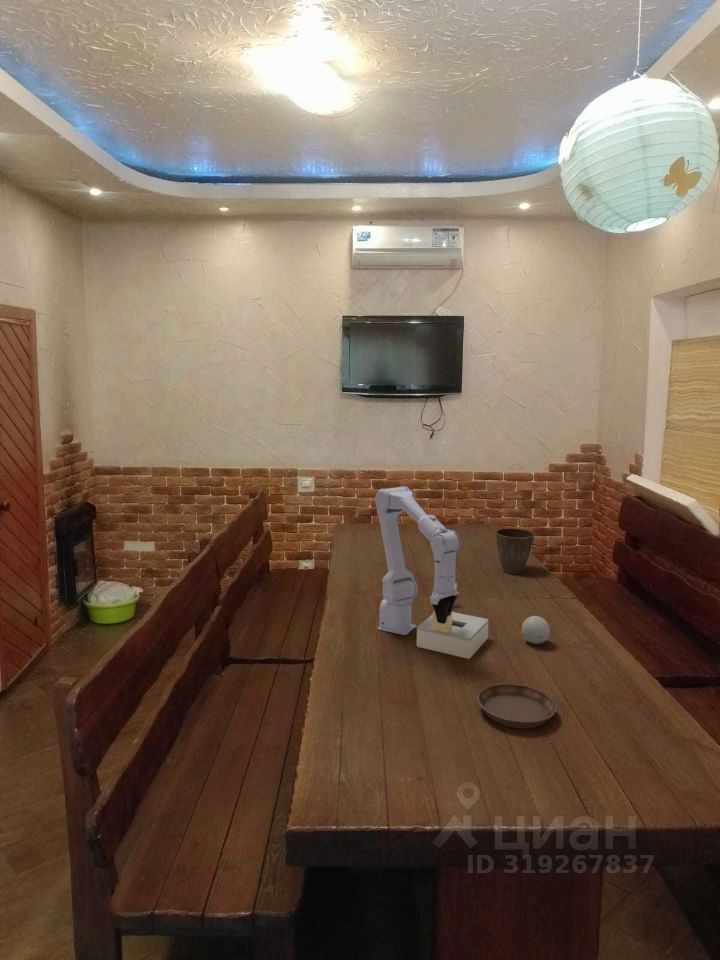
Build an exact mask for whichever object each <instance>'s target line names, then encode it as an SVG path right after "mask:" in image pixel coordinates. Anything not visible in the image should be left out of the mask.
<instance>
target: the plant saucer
mask: <svg viewBox="0 0 720 960" xmlns="http://www.w3.org/2000/svg"><path fill="white" fill-rule="evenodd" d="M477 702H478V704H479V706H480V708H481V709H482V711H483V712H484V713H485V715H487V717H489V718H490V719H491V720H493V721H494V722H496V723H497V724H500V725H503V726H506V727H509V728H515V729H532V728H537V727H540V726H542V725H544V724H545V723H546V722H548V721H550V720H551V718H552V717H553V716H554V715H555V713H556V712H557V711H556V710H557V706H556V702H555V701H554V700H553V699H552V698H551V697H550V696H549V695H547V694H546V693H544V692H543V691H541V690H539V689H536V688H534V687H530V686H527V685H522V684H517V683H498V684H492V685H490V686H487V687H485V688H483V689H482V690H480V692H479V693H478V695H477Z"/></svg>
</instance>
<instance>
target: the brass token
mask: <svg viewBox="0 0 720 960" xmlns="http://www.w3.org/2000/svg"><path fill="white" fill-rule="evenodd" d="M431 615H432V629H433V630H437V631H442V632H446V633H449V632H450V631H451V630H452V613H449V612H447V617H446V622H445V624H442V623H438V622H437V618H436V614H435V610H433V612H432V613H431Z"/></svg>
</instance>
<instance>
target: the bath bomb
mask: <svg viewBox="0 0 720 960" xmlns="http://www.w3.org/2000/svg"><path fill="white" fill-rule="evenodd" d="M521 633H522V636H523V638H524V639H525V640H526V641H527V642H529V643H530V644H534V645H540V644H542V643H544V642H546V641H547V640H548V638H549V637H550V634H551V628H550V626H549V623H548V621H547V620H546V619H544V618H543V617H542V616H538V615H532V616H529V617H527V618H526V619H525V620H524V621H523V622H522V625H521Z"/></svg>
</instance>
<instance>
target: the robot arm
mask: <svg viewBox="0 0 720 960" xmlns="http://www.w3.org/2000/svg"><path fill="white" fill-rule="evenodd" d="M374 503H375V507H376V512H377V516H378V521H379V524H380V525H379V526H380V530H381V535H382V542H383V547H384V554H385V560H386V564H387V565H386V566H387V570H388V571H387V573H386V574H385V575H384V577H383V578H382V579H381V580H382V581H381V582H382V593H381V594H382V596H383V599H382V600H381V603H380V604H379V610H378V611H379V616H378V617H379V618H378V619H379V620H378V622H379V624H378V628H377V629H378V630H380V631H384V632H387V633H388V632H390V633H394V634H398V635H402V636H406V635H408V634H409V633H410V632H411V631H413V630H414V629H416V628H417V625H416V624H412V602H414V598H416V597H417V595H418V585H417V583H416V581H415V578H414V574H413V572H411V571H410V570H409V569H406V563H405V558H404V552H403V547H402V541H401V535H400V530H399V524H398V517H399V516H400V514H401V513H403V512H405V513H406V514H407V515H408V516H409V517H411V518H412V519H413V520H414V521H415V522H416V523H417V528H418V530H419V532H420V533H421V534H422V535H424V537H425V538H426V539H427V540H428V541H429V542H430V543H429V544H430V548H431V550H432V556H433V559H434V573H433V574H434V575H433V577H434V578H433V584H434V585H433V589H432V594H431V596H430V599H429V600H430V602H429V603H430V605H431V606H432V607H433V611H435V614H436V618H437V622H438V623H442V624H445V622H446V617H447V612H449V613H451V612H453V607H454V604H455V602H456V601H457V599H458V594H459V593H460V592H459V590H457V589H458V583H457V582H456V564H457V563H456V559H457V558H456V557H457V556H456V555H457V552H458V551H459V550H460V549H461V545H462V541H461V538H460V535H459V534H458V532H457V531H456V530H454V529H453V530H450V529H447V528H446V526H444V525H443V524H442V523H441V521H439V519H437V517H436V516H435V515H432V514H427V513H426V512H425V511H424V510H423V508H422V507H421V506H420V504H418V502H417V501H416V500H415V499H414V492H413V491H412V490H410V488H409V487H408V486H405V485H402V486H399V487H390V488H380V489H379V490H378V491H377V492H376V495H375V497H374Z"/></svg>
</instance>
